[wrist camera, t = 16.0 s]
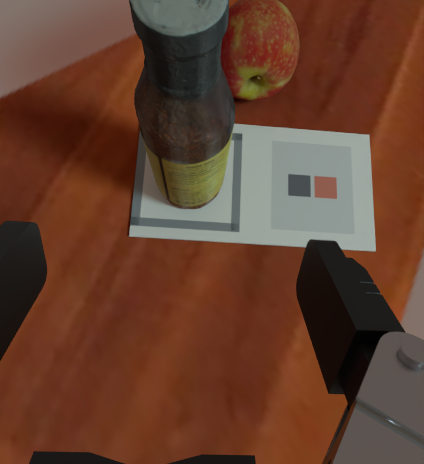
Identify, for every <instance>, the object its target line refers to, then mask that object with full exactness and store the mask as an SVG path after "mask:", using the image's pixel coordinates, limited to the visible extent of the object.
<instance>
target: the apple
mask: <svg viewBox="0 0 424 464" xmlns="http://www.w3.org/2000/svg"><path fill="white" fill-rule="evenodd" d="M298 56H299V35H298V30H297V26H296V23H295V21H294V19H293V17H292V15H291V13H290V12H289V10H288V9H287V8H286V7H285V6H284V5H283V4H282V3H281V2H280V1H278V0H239V1H238V2H236V3H235V4H234V5H232V6H231V7H230V8H229V19H228V27H227V30H226V33H225V34H224V37H223V38H222V44H221V55H220V59H221V66H222V69H223V71H224V74H225V77H226V79H227V82H228V85H229V87H230V90H231V93H232V96H233V97H234V98H238V99H242V100H249V101H250V100H262V99H266V98H270V97H271V96H273V95H275V94H276V93H278V92H279V91H280V90H282V89H283V87H284V86H285V85H286V84H287V83H288V81H289V80H290V78H291V77H292V75H293V73H294V71H295V68H296V66H297V61H298Z"/></svg>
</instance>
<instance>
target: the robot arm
mask: <svg viewBox="0 0 424 464" xmlns="http://www.w3.org/2000/svg"><path fill="white" fill-rule="evenodd" d="M46 276H47V264H46V259H45V255H44V250H43V245H42V240H41V236H40V231H39V228H38V226H37V224H36V223H34V222H19V221H5V222H4V223H3V224H2V225H1V226H0V361H1V359H2V357H3V355H4V354H5V352H6V350H7V348H8V347H9V345H10V343H11V341H12V340H13V338H14V336H15V335H16V333H17V331H18V329H19V328H20V326H21V324H22V322H23V321H24V319H25V317H26V316H27V314H28V312H29V310H30V309H31V307H32V305H33V303H34V302H35V300H36V298H37V297H38V295H39V293H40V291H41V290H42V288H43V286H44V284H45V281H46ZM373 283H374V282H373V280H372V278H371V277H370V275H369V274H368V272H367V270H366V269H365V268H364V267H362V266H361V265H360V264H359V263H358V262H356V261H355V260H354V259H353V258H346V257H345V255H344V253H343V251H342V250H341V248H340V246H339V245H338V243H337V242H336V241H332V240H315V239H310V240H309V241H308V243H307V245H306V249H305V252H304V256H303V260H302V263H301V267H300V271H299V274H298V278H297V284H296V293H297V299H298V302H299V305H300V308H301V311H302V314H303V317H304V320H305V323H306V326H307V329H308V332H309V335H310V339H311V342H312V345H313V348H314V351H315V354H316V357H317V360H318V363H319V366H320V369H321V372H322V375H323V378H324V381H325V384H326V387H327V390H328V393H329V394H345V397H346V400H347V402H348V404H347V406H346V408H345V410H344V413H343V415H342V418H341V420H340V422H339V425H338V427H337V429H336V432H335V434H334V437H333V439H332V441H331V444H330V446H329V448H328V451H327V453H326V456H325V458H324V460H323V463H322V464H424V340H422V339H420V338H418V337H416V336H414V335H411V334H407V333H405V331H404V329H403V328H402V326H401V324H400V323H399V321H398V320H397V318H396V317H395V315H394V313H393V312H392V310H391V309H390V307H389V305H388V304H387V302H386V301H385V299H384V297H383V296H382V295H380V291H379V290H378V288H377V286H376V285H375V284H373ZM29 464H124V463H121V462H118V461H115V460H111V459H108V458H105V457H102V456H99V455H96V454H93V453H90V452H36V451H34V452H33V455H32V457H31V460H30V463H29ZM169 464H256V462H255V456H252V455H199V456H195V457H191V458H187V459H184V460H180V461H176V462H173V463H169Z"/></svg>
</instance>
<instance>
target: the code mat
mask: <svg viewBox="0 0 424 464" xmlns="http://www.w3.org/2000/svg"><path fill="white" fill-rule="evenodd" d="M129 237H145V238H161V239H178V240H194V241H210V242H227V243H243V244H259V245H276V246H292V247H306V245H307V243H308V241H309V240H310V239H315V240H332V241H336V242H337V243H338V245H339V246H340V248H341V250H357V251H374V252H375V251H376V245H375V227H374V210H373V192H372V174H371V157H370V139H369V135H364V134H352V133H340V132H327V131H315V130H303V129H291V128H279V127H267V126H255V125H242V124H234V127H233V133H232V139H231V144H230V149H229V155H228V160H227V165H226V171H225V176H224V181H223V184H222V187H221V188H220V191H219V193H218V195H217V196H216V197H215V198H214V199H213V200H212V201H211V202H210V203H208V204H207V205H206V206H204V207H202V208H199V209H182V208H178V207H176V206H173V205H172V204H170V203H169V201H168V200H167V199H166V198H165V197H164V196H163V195H162V193H161V192H160V190H159V189H158V186H157V184H156V181H155V178H154V174H153V171H152V168H151V165H150V161H149V158H148V155H147V152H146V149H145V145H144V142H143V139H142V136H141V132H140V134H139V144H138V154H137V164H136V173H135V183H134V193H133V203H132V212H131V222H130V232H129Z"/></svg>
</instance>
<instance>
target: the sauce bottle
mask: <svg viewBox="0 0 424 464" xmlns="http://www.w3.org/2000/svg"><path fill="white" fill-rule="evenodd" d="M129 3H130V7H131V14H132V19H133V23H134V28H135V31H136V33H137V35H138V37H139V38H140V39H141V41H142V44H143V49H144V55H145V60H144V68H143V70H142V73H141V76H140V79H139V81H138V84H137V86H136V89H135V98H134V100H135V103H134V105H135V109H136V114H137V117H138V120H139V123H140V132H141V136H142V139H143V142H144V145H145V149H146V152H147V155H148V158H149V161H150V165H151V168H152V171H153V174H154V178H155V181H156V184H157V186H158V189H159V190H160V192H161V193H162V195H163V196H164V197H165V198H166V199H167V200H168V201H169V203H170V204H172V205H173V206H176V207H178V208H182V209H199V208H202V207H204V206H206V205H207V204H208V203H210V202H211V201H212V200H213V199H214V198H215V197H216V196H217V195H218V193H219V191H220V188H221V187H222V184H223V181H224V176H225V171H226V165H227V160H228V155H229V149H230V144H231V139H232V133H233V127H234V121H235V105H234V99H233V96H232V93H231V90H230V87H229V85H228V82H227V79H226V77H225V74H224V71H223V69H222V66H221V59H220V55H221V44H222V38H223V37H224V34H225V33H226V30H227V27H228V19H229V0H129Z"/></svg>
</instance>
